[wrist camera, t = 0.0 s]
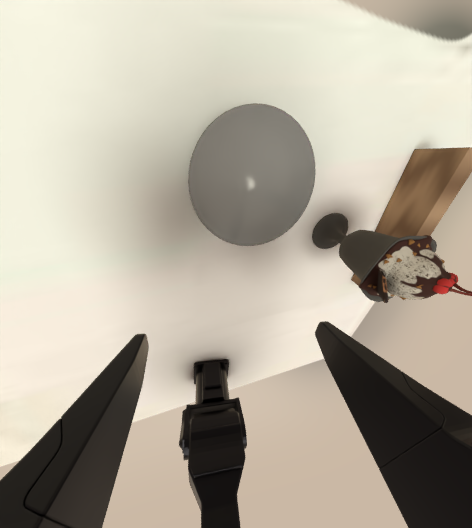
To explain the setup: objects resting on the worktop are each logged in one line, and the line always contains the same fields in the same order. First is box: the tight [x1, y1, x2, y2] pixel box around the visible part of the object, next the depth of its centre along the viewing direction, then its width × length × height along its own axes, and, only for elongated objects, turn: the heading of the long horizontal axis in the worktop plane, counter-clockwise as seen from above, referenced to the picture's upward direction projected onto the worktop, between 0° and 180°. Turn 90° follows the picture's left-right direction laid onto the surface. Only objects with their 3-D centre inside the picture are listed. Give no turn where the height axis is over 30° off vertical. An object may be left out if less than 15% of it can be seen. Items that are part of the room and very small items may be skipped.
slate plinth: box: [188, 104, 315, 246], centre depth 18 cm, size 12×12×3 cm
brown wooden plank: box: [351, 147, 472, 300], centre depth 23 cm, size 18×2×5 cm, turn 175°
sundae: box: [313, 213, 472, 303], centre depth 18 cm, size 7×7×15 cm
